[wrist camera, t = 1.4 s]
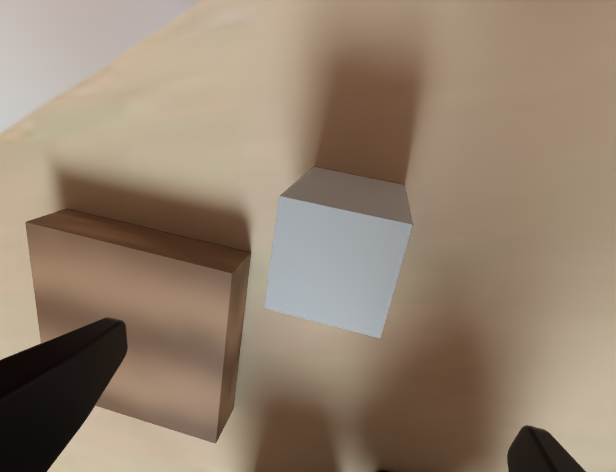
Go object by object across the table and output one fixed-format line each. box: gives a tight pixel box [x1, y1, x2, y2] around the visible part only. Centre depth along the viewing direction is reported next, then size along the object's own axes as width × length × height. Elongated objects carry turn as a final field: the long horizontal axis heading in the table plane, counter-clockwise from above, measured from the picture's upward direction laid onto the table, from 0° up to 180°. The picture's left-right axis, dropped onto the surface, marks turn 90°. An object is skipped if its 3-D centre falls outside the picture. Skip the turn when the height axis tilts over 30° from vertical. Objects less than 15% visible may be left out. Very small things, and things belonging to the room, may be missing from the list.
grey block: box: [264, 167, 413, 339], centre depth 18 cm, size 5×5×7 cm
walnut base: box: [26, 209, 251, 443], centre depth 25 cm, size 13×13×3 cm
